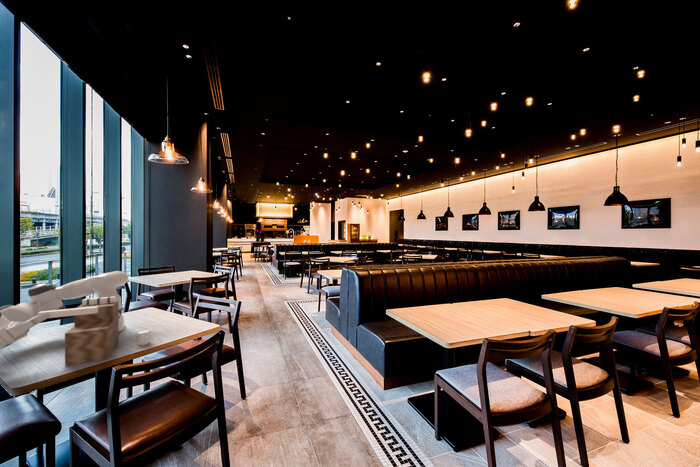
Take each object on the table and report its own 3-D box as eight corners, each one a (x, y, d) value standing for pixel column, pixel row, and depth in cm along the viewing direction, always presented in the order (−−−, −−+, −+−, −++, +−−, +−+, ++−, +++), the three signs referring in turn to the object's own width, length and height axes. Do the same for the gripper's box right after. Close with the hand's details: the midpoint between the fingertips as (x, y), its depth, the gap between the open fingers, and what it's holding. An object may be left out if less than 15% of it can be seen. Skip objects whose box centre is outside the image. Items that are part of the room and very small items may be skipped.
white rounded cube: (141, 341, 170) (141, 329, 170) (153, 340, 171) (153, 329, 171) (133, 345, 164) (133, 333, 163) (145, 345, 164) (145, 333, 164)
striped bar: (81, 305, 157) (81, 300, 157) (84, 304, 159) (83, 298, 159) (114, 302, 163) (114, 297, 163) (115, 301, 166) (115, 296, 166)
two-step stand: (65, 365, 139) (64, 315, 139) (82, 347, 160) (82, 303, 160) (106, 359, 147) (106, 311, 146) (118, 342, 168) (118, 300, 168)
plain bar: (37, 319, 137) (37, 312, 137) (40, 317, 140) (40, 311, 140) (96, 313, 148) (96, 307, 148) (98, 311, 150) (98, 306, 150)
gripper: (31, 329, 145) (63, 312, 150) (7, 343, 127) (44, 324, 132) (22, 319, 143) (54, 303, 149) (-3, 332, 125) (35, 313, 131)
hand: (49, 313), depth 140 cm, fingers closed on plain bar, 3 cm apart
